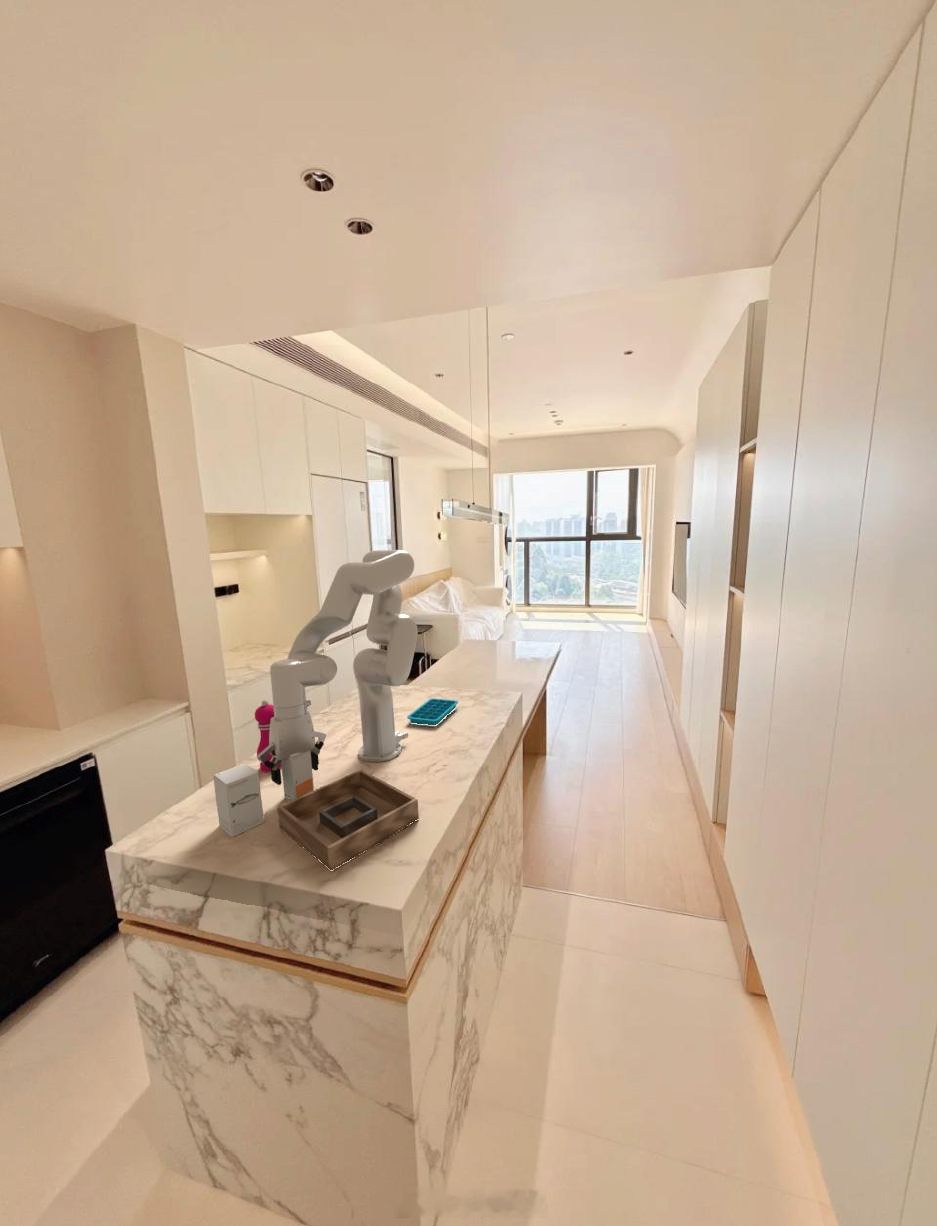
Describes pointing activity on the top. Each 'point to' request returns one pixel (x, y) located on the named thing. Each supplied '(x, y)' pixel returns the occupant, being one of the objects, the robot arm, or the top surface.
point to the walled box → (347, 817)
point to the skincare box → (297, 775)
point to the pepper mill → (264, 730)
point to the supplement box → (238, 799)
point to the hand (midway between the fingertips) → (296, 775)
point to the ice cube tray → (432, 711)
